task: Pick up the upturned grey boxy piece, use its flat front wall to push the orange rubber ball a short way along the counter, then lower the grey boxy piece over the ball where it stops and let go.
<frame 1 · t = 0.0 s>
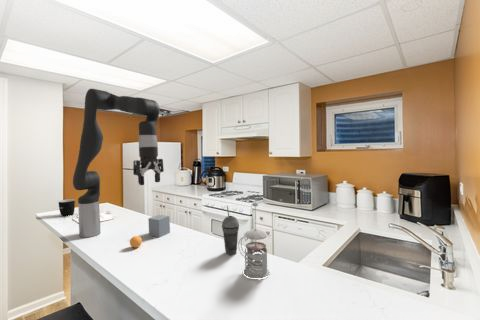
hand: (149, 183, 104), 29 cm above the countertop, tool pointing down, fingers open, 8 cm apart
ball: (135, 241, 109), on the countertop
beverage cup: (231, 253, 101), on the countertop
grey boxy piece: (159, 233, 125), on the countertop
french press: (254, 272, 85), on the countertop
mug: (68, 215, 165), on the countertop
tray: (93, 219, 158), on the countertop
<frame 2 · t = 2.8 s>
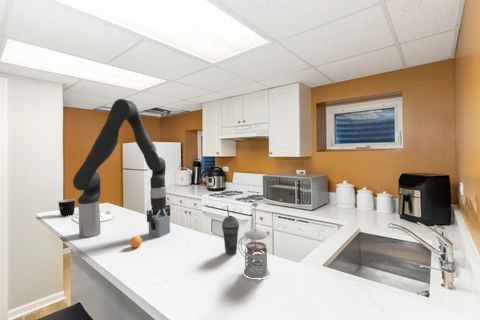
hand: (159, 227, 125), 4 cm above the countertop, tool pointing down, fingers closed on grey boxy piece, 7 cm apart
grey boxy piece: (159, 233, 125), on the countertop, touching gripper
everything else where it was.
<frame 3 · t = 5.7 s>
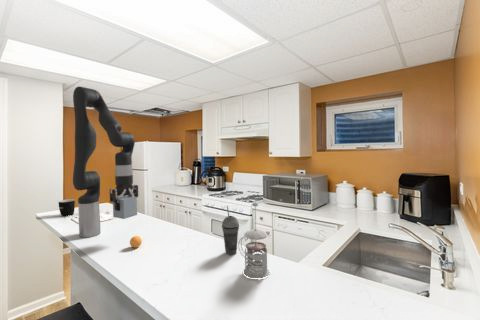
hand: (125, 208, 115), 16 cm above the countertop, tool pointing down, fingers closed on grey boxy piece, 7 cm apart
grey boxy piece: (125, 215, 115), point 12 cm above the countertop, touching gripper
everything else where it was.
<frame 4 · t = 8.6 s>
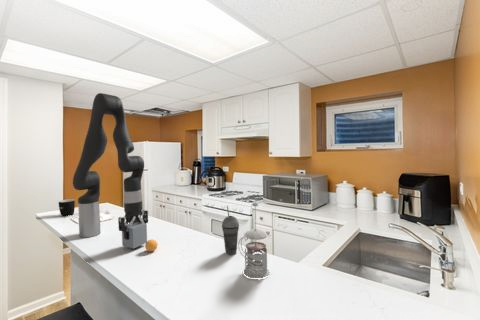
hand: (134, 236, 109), 5 cm above the countertop, tool pointing down, fingers closed on grey boxy piece, 7 cm apart
ball: (151, 245, 104), on the countertop
grey boxy piece: (134, 244, 109), point 1 cm above the countertop, touching gripper
everything else where it was.
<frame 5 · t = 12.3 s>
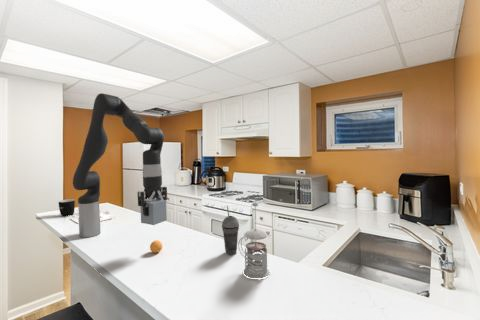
hand: (153, 213, 103), 17 cm above the countertop, tool pointing down, fingers closed on grey boxy piece, 7 cm apart
ball: (156, 246, 103), on the countertop
grey boxy piece: (154, 221, 103), point 13 cm above the countertop, touching gripper
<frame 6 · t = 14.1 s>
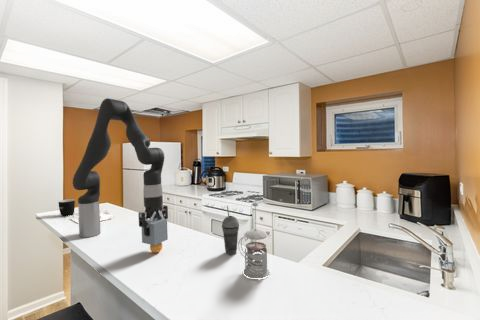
hand: (154, 232, 103), 8 cm above the countertop, tool pointing down, fingers closed on grey boxy piece, 7 cm apart
grey boxy piece: (155, 240, 103), point 5 cm above the countertop, touching gripper
when the fingers open (4 cm above the countertop, at t = 15.6 s): grey boxy piece stays where it is, on the countertop.
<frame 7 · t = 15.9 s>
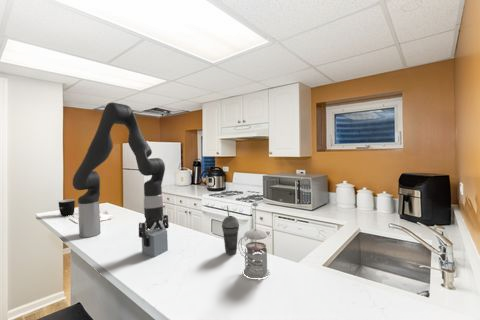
hand: (154, 242, 103), 4 cm above the countertop, tool pointing down, fingers open, 8 cm apart
grey boxy piece: (155, 252, 103), on the countertop
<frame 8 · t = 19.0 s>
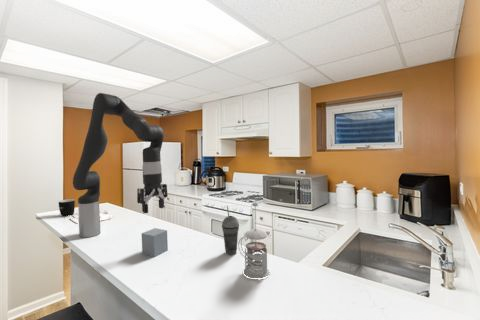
hand: (153, 210, 102), 18 cm above the countertop, tool pointing down, fingers open, 8 cm apart
at the end: ball 0.7 cm from the grey boxy piece (horizontally); grey boxy piece on the countertop; ball moved 12.6 cm from its start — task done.
